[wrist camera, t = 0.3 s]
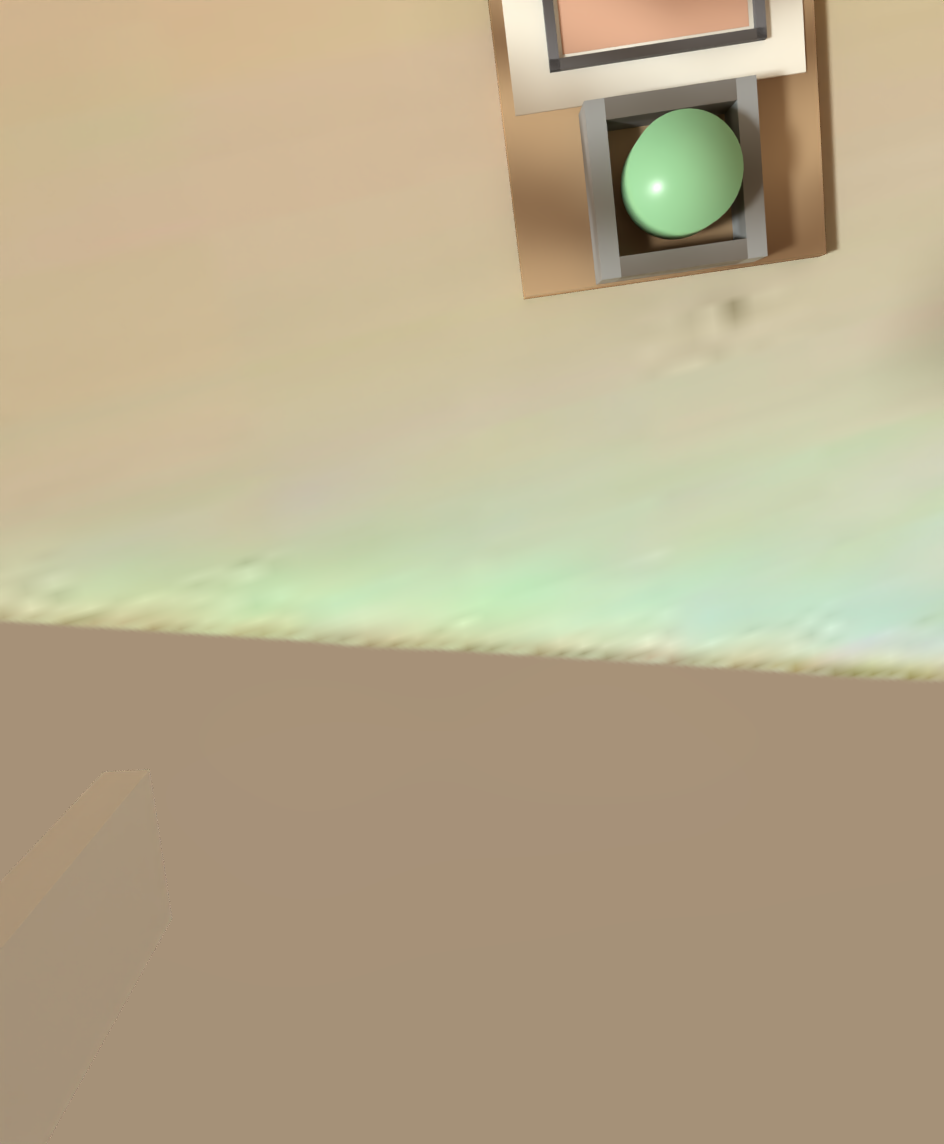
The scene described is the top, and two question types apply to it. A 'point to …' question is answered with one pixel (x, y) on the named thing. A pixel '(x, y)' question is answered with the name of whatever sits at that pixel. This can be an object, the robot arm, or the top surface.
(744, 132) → the tan rectangular board
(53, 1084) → the robot arm
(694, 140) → the button
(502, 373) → the top surface
